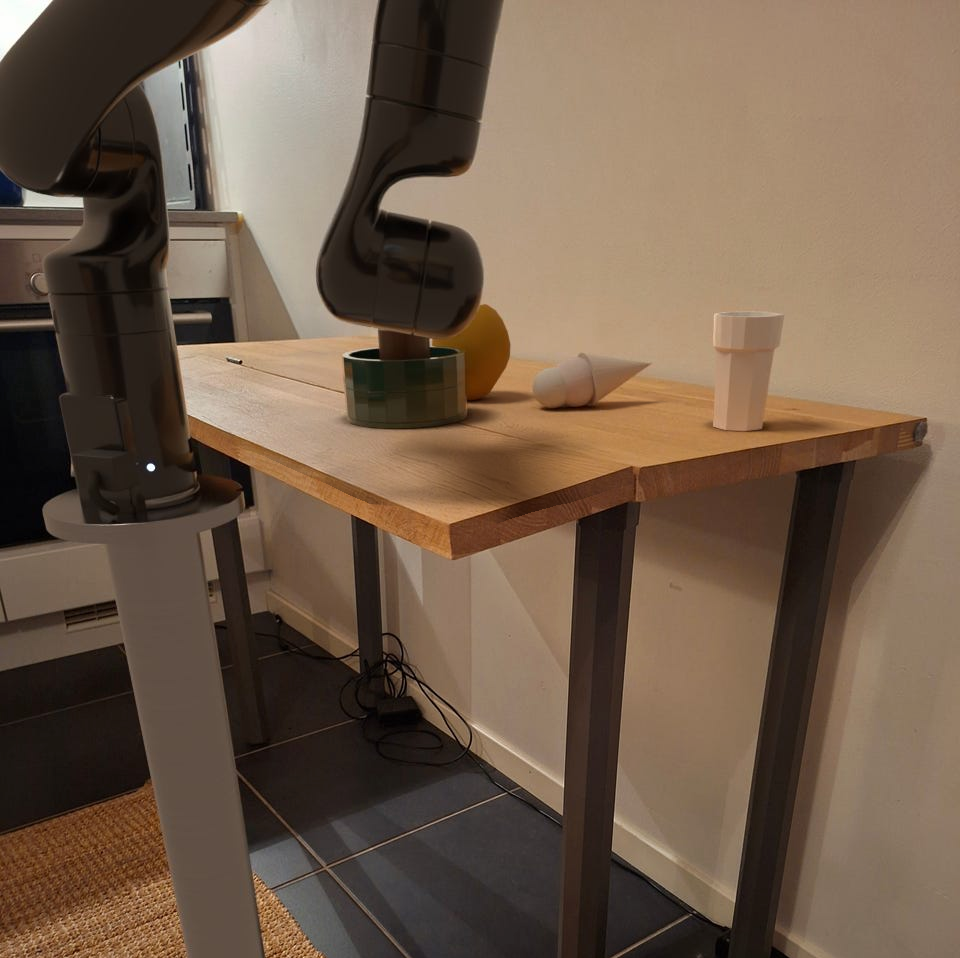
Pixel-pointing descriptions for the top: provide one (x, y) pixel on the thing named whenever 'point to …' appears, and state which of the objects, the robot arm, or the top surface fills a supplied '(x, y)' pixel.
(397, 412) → the pot
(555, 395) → the ice cream cone
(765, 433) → the top surface
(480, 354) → the apple
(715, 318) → the cup
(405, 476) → the top surface
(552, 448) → the top surface
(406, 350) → the brown wooden cylinder
